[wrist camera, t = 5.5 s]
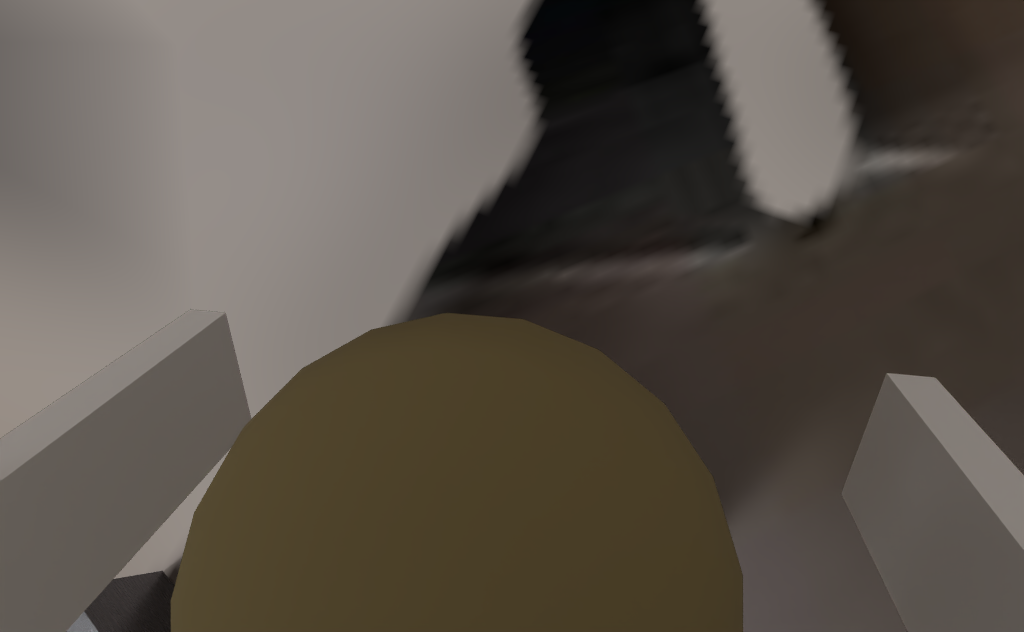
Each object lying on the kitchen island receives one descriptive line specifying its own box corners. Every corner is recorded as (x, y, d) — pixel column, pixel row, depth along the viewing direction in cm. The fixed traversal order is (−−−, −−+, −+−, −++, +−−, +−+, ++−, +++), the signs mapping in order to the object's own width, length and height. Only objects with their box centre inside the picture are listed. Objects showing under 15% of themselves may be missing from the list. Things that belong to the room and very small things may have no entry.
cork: (704, 552, 14) (1101, 704, 3) (510, 726, 13) (275, 1579, 3) (546, 365, 16) (494, 96, 5) (368, 509, 15) (-95, 526, 5)
